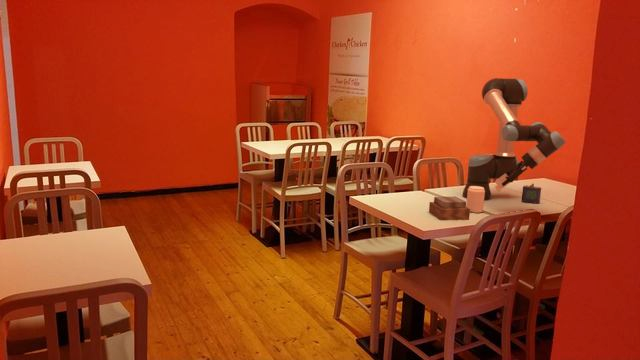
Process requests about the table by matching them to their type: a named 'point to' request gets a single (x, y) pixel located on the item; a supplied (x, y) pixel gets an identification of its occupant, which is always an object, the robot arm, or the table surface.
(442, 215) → the stepped brown pedestal
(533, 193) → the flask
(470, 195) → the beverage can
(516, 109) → the robot arm
